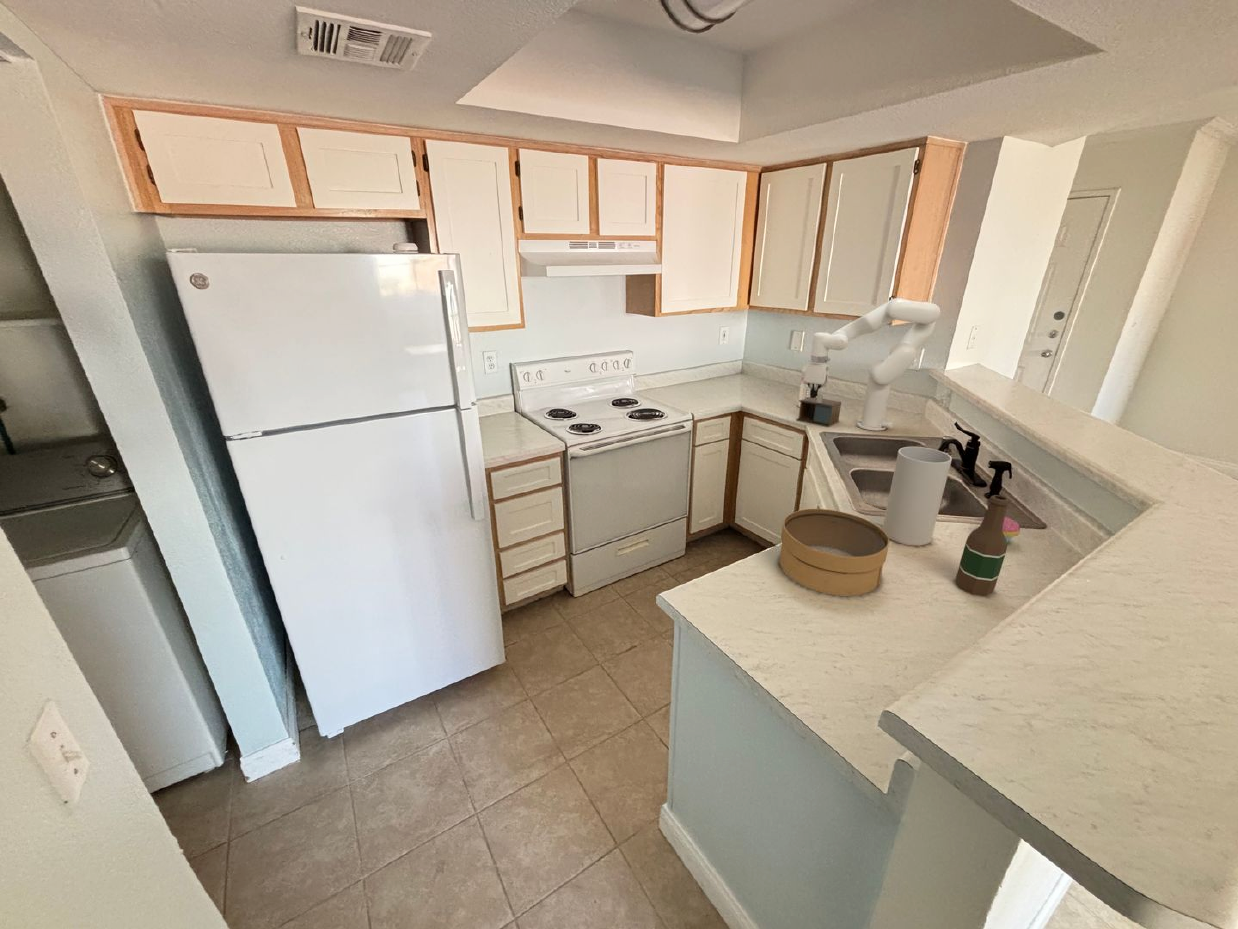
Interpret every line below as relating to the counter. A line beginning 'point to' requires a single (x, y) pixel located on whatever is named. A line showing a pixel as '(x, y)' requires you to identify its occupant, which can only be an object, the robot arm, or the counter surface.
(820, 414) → the glass door
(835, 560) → the steamer basket
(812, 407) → the cabinet
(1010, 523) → the cupcake
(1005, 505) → the beer bottle
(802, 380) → the water bottle
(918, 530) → the cylinder vase
